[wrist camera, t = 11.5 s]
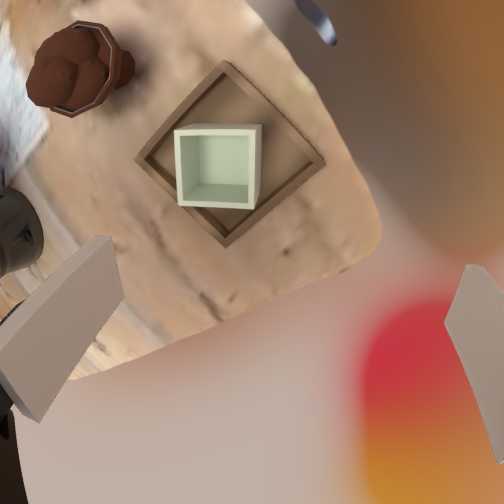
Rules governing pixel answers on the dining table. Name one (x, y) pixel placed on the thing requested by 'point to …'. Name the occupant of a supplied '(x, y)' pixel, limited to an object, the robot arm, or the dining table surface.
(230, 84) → the walnut tray
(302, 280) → the dining table surface
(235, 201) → the sage crate
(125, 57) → the ice cream bowl
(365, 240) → the dining table surface
